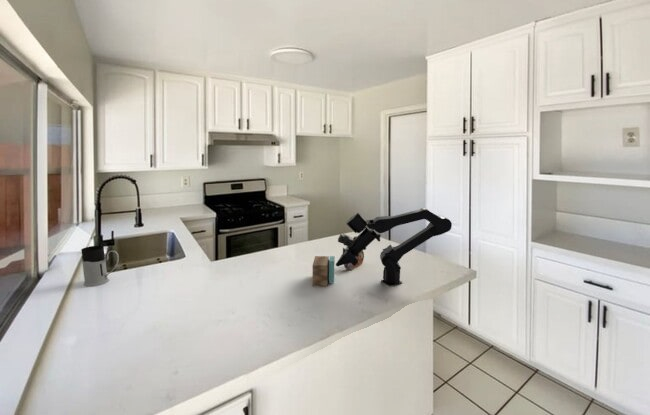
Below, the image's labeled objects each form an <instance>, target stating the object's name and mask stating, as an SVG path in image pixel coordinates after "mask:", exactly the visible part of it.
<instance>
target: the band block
mask: <svg viewBox="0 0 650 415" xmlns="http://www.w3.org/2000/svg"><path fill="white" fill-rule="evenodd" d="M329 259H330V256H327V255H326V256H325V255H324V256H323V255H319V256H318V255H315V256H314V258H313V262H312V287H325V288H326V287H328V283H329Z"/></svg>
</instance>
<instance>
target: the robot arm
mask: <svg viewBox="0 0 650 415" xmlns="http://www.w3.org/2000/svg"><path fill="white" fill-rule="evenodd" d="M422 220H426V221H427V222H429V223H428V224H427V225H426V227H425V228H423V229H422V230H419V231H418V232H417V233H415V234H414V235H412V236H411V237H409V238H407V239H406V240H404V241H402V242H401V243H400V244H397V245H396V246H392V244H389V245H388V246H386V247H385V248H382V251H381V252H380V254H379V259H380V262H381V264H382V266H383V274H382V275H383V276H382V279H381V280H380V282H381V283H383V284H386V285H388V286H391V287H395V286H398V285H400V284H403V281H401V279H400V278H401V269H402V267H401V265H400V263H399V261H400V260H401V259H402V257H404V255H406V254H407V253H409V252H411V251H413V250H414V249H415V248H417V247H419V246H420V245H422V244H424V243H425V242H427V241H428V240H430V239H431V238H434V237H437V236H441V235H443V234H446V233H448V232H450V231H452V220H450V219H449V218H447V217H445V216H444V215H437V214H435V213H433V212H432V211H431V210H429V209H428V208H426V207H422V208H420V209H415V210H413V211H412V210H411V211H408V212H404V213H400V214H396V215H390V216H388V215H387V216H386V215H385V216H376V217H375V218H374V219H368V220H365V218H363V217H362V215H361V214H360V213H359V212H357V213H355V214H354V215H353V216H351V217H349V219H348V220H347V221H346V222H345V225H347V226H348V227H349V228H350V229H351V230H352V231H353V232H354V233H355V234H358V235H356V236H354V237H352V236H350V235H347V234H346V233H343V232H340V234H339V236H338V238H337V242H338V243H340V244H343V246H344V247H345V248H344V247H342V253H341V256H340V257H339V258H338V260H337V262H336V263H335V266H336V267H338V268H339V267H340V266H344V264H347V263H352V264H353V265H354V266H355V265H356V264H357V263H358V256H359V253H360V252H362V251H363V252H364V251H365V250H366V249H367V247H368V246H369V245H370V244H371V243H373V241H375V240H376V241H377V242H378V243H379V242H381V234H383V233H386V232H388V231H391V230H392V229H393V228H396V227H398V226H401V225H402V226H403V225H406V224H410V223H414V222H417V221H422Z"/></svg>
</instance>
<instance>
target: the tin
mask: <svg viewBox="0 0 650 415" xmlns="http://www.w3.org/2000/svg"><path fill="white" fill-rule="evenodd" d="M364 259H365V252H364V250H363V251H362V252H360V253H359V256H358V263H357V264H356V265H355V266H354V265H353V264H352V263H347V264H344V265H343V266H344V268H345V269H346V270H350V271H352V270H355V269H357V268H358V267H360V266H362V264H363V263H364Z"/></svg>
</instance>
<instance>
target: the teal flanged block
mask: <svg viewBox="0 0 650 415" xmlns="http://www.w3.org/2000/svg"><path fill="white" fill-rule="evenodd" d="M328 283H329V284H335V255H330V256H329V280H328Z"/></svg>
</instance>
